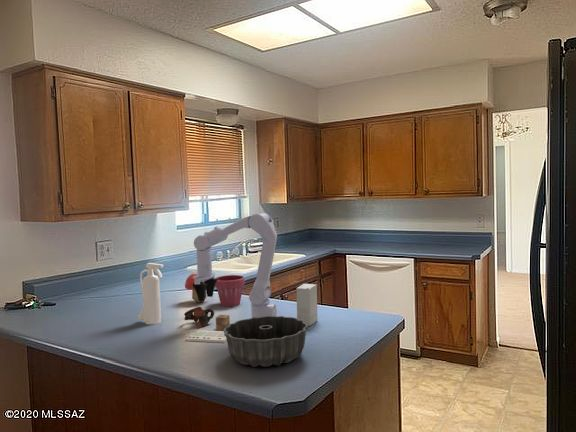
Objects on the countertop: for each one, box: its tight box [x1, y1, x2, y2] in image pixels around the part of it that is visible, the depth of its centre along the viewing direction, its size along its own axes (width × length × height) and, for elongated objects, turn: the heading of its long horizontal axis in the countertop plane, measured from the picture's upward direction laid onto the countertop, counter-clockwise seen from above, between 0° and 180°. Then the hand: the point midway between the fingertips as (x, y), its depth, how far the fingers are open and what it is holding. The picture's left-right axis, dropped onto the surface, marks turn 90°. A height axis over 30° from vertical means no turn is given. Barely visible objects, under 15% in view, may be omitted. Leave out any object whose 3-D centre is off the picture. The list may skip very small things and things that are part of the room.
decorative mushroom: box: [184, 271, 207, 303], centre depth 219 cm, size 13×13×15 cm
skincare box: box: [296, 283, 319, 327], centre depth 177 cm, size 8×6×15 cm
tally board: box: [185, 329, 227, 344], centre depth 164 cm, size 15×10×1 cm, turn 76°
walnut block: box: [215, 314, 231, 331], centre depth 174 cm, size 4×4×5 cm
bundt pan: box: [224, 315, 308, 368], centre depth 141 cm, size 26×26×10 cm
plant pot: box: [214, 274, 246, 307], centre depth 213 cm, size 14×14×13 cm
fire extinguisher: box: [137, 262, 165, 325], centre depth 186 cm, size 7×12×25 cm, turn 72°
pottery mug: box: [183, 306, 215, 329], centre depth 181 cm, size 12×10×8 cm
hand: (205, 298), depth 180 cm, fingers open, 7 cm apart
